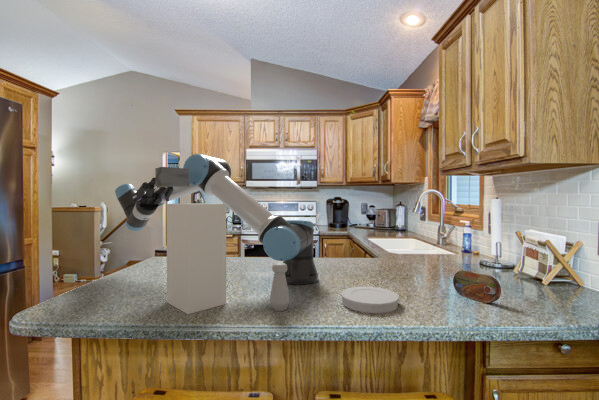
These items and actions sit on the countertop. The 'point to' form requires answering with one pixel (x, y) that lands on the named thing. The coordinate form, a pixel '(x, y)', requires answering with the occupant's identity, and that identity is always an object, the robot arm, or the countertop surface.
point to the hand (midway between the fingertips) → (166, 174)
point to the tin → (477, 286)
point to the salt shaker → (279, 288)
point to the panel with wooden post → (171, 177)
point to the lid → (370, 299)
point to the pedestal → (196, 256)
